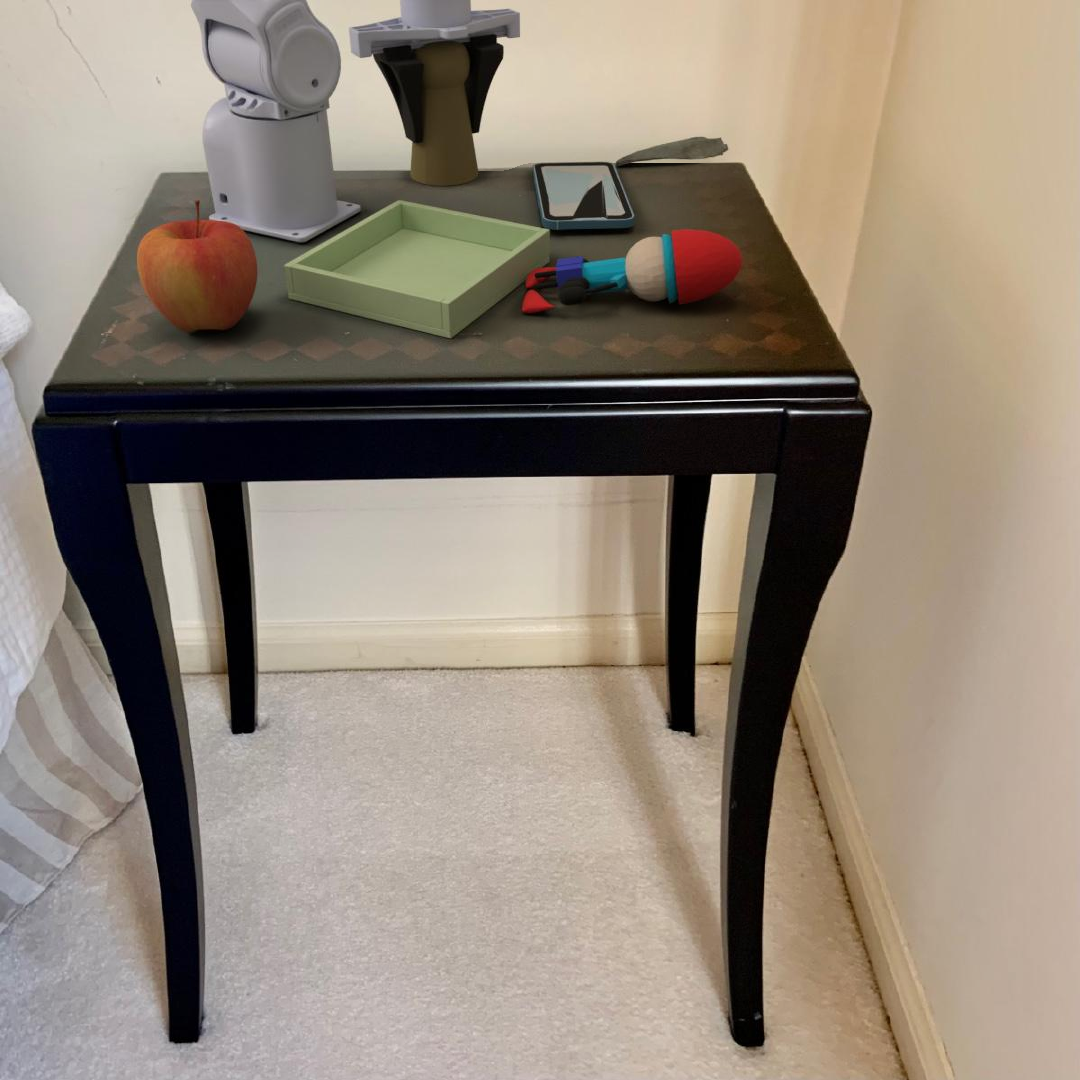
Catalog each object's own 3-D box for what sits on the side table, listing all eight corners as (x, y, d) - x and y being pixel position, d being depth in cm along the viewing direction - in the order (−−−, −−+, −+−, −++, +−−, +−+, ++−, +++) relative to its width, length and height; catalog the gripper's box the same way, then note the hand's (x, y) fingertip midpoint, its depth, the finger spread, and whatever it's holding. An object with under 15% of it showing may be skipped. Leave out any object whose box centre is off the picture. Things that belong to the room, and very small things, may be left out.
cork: (449, 158, 100) (443, 28, 94) (492, 174, 97) (489, 41, 90) (396, 173, 97) (386, 40, 90) (438, 190, 93) (431, 53, 87)
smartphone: (614, 161, 97) (637, 219, 85) (613, 172, 98) (636, 231, 85) (531, 162, 97) (542, 221, 85) (531, 173, 97) (542, 233, 85)
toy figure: (525, 340, 74) (748, 312, 72) (512, 270, 72) (743, 238, 69) (534, 301, 81) (740, 274, 78) (523, 235, 78) (735, 205, 76)
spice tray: (288, 298, 76) (283, 264, 75) (401, 230, 86) (398, 199, 85) (450, 339, 71) (448, 303, 70) (549, 261, 81) (550, 229, 80)
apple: (136, 350, 70) (106, 229, 65) (174, 301, 76) (149, 187, 71) (248, 354, 70) (227, 232, 65) (278, 304, 75) (261, 189, 71)
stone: (623, 159, 96) (602, 140, 100) (623, 177, 97) (602, 157, 101) (736, 142, 99) (712, 124, 103) (735, 159, 100) (710, 140, 104)
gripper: (367, -24, 81) (382, 161, 89) (537, -41, 87) (537, 134, 95) (332, -39, 86) (350, 137, 94) (496, -54, 91) (499, 113, 100)
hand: (442, 135), depth 95 cm, fingers closed on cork, 5 cm apart
